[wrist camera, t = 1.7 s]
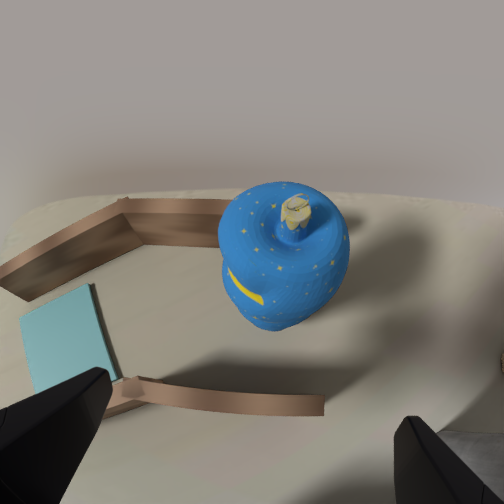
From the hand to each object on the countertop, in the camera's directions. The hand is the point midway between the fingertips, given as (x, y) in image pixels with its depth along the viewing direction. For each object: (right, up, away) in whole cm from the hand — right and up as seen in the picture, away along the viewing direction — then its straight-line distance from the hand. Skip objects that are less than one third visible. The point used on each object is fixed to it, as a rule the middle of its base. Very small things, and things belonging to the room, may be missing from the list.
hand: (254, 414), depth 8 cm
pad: (-16, -3, +13) cm, 21 cm away
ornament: (+1, 0, +15) cm, 15 cm away
